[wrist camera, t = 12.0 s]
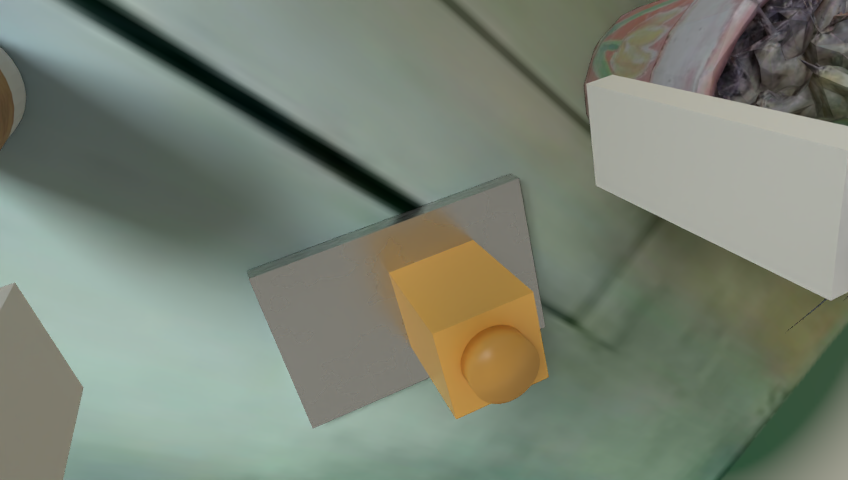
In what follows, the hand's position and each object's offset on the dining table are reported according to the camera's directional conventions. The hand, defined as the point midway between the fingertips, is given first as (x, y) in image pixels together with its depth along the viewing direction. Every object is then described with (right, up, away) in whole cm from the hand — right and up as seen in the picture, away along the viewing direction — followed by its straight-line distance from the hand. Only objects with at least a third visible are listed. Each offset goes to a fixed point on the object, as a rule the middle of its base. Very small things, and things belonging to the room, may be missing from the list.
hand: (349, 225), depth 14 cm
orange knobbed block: (+3, -4, +27) cm, 27 cm away
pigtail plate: (+1, -4, +27) cm, 28 cm away
